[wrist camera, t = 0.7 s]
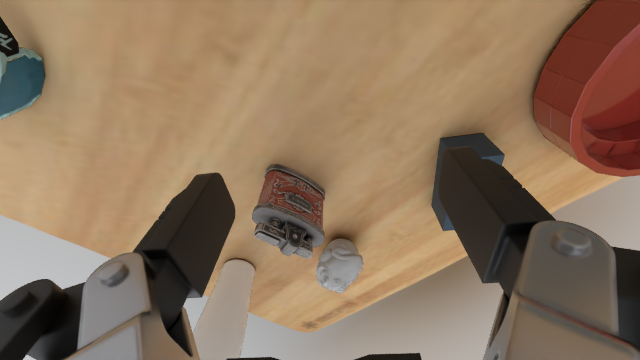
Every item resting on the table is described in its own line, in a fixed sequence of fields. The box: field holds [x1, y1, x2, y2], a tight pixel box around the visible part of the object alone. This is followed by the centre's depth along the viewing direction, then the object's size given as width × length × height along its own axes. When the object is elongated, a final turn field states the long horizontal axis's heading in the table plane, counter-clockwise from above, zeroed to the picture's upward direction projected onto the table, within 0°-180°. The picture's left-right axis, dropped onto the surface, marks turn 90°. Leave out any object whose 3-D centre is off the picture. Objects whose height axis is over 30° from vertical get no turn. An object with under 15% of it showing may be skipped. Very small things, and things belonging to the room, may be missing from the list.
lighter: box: [252, 164, 325, 259], centre depth 29 cm, size 8×3×10 cm, turn 56°
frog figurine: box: [316, 239, 363, 293], centre depth 37 cm, size 6×7×7 cm
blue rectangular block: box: [432, 133, 505, 231], centre depth 30 cm, size 10×4×4 cm, turn 9°
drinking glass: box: [193, 259, 255, 360], centre depth 38 cm, size 7×7×15 cm
